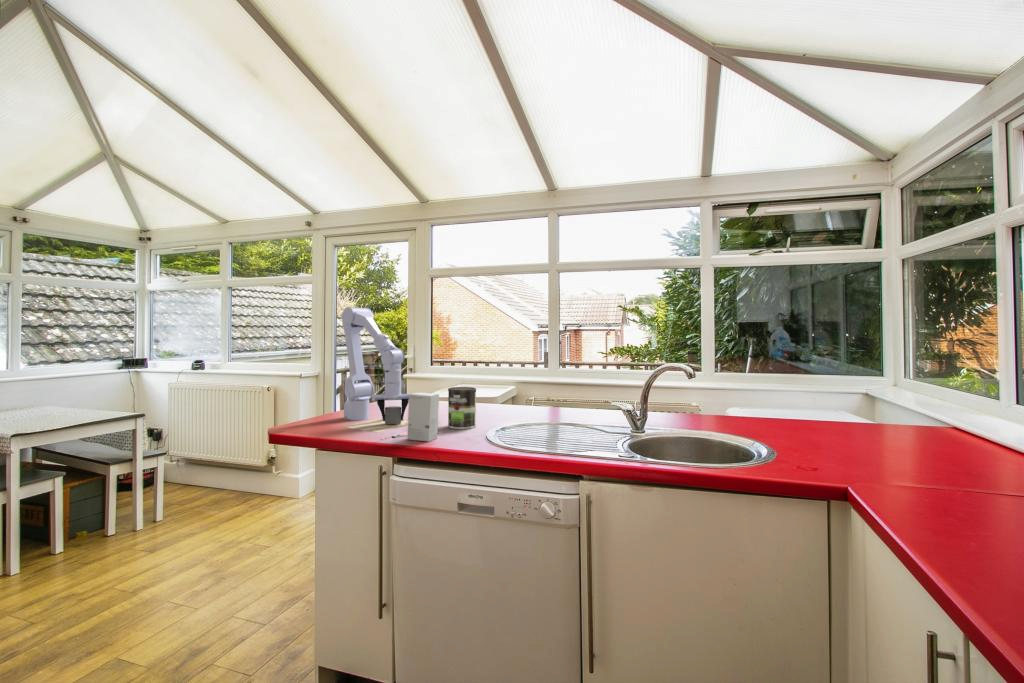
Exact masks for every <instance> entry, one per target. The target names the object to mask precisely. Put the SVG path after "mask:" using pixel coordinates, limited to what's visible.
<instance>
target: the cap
mask: <svg viewBox="0 0 1024 683" xmlns="http://www.w3.org/2000/svg"><path fill="white" fill-rule="evenodd" d="M401 412H402V406H397V405H396V406H394V405H393V406H390V405H389V406H385V424H399V423H401Z"/></svg>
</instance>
